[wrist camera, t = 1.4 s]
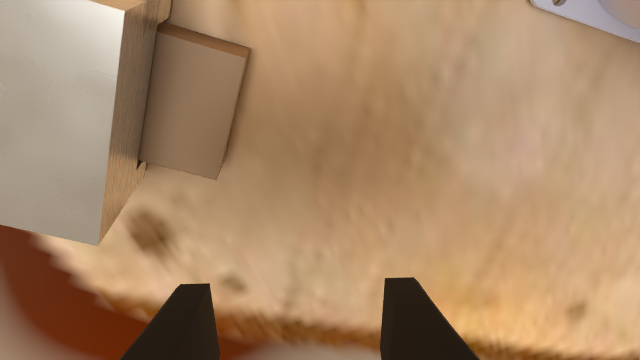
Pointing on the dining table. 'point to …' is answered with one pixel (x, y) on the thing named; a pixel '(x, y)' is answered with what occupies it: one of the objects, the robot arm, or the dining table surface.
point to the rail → (191, 100)
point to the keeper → (73, 111)
